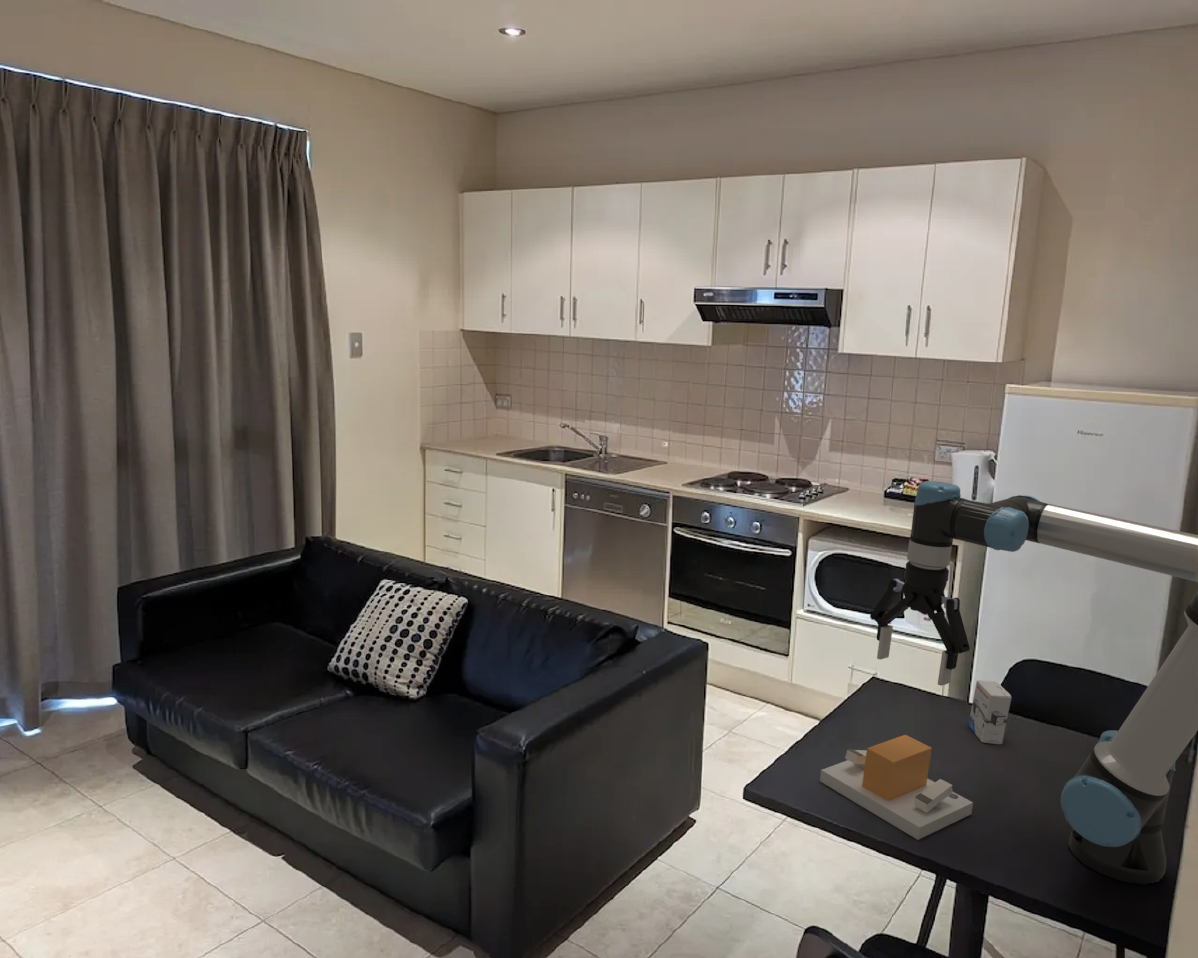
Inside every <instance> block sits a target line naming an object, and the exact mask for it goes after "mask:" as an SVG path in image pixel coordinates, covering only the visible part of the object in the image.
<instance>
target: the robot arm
mask: <svg viewBox="0 0 1198 958" xmlns="http://www.w3.org/2000/svg"><path fill="white" fill-rule="evenodd" d="M914 499H915V500H914V503H913V512H912V513H913V515H912V521H911V530H910V535H909V541H908V549H907V554H906V559H907V562H906V563H905V570H904V571H905V572H904V578H903V579H904V581H903V580H902V578H899V577H898V578H893V579H890V580H889V582H888V587H887V589H886V591H885V592H884V594H883V595H882V597H881V599H880V600H879V602H878V603H877V604H876V606H875V607H874V609H873V610H872V612H871V613H870V615H869V618H870V620H873V621H875V622H876V624H877V633H876V640H877V641H878V645H877V646H878V649H877V654H876V655H877V656H876V659H878V660H883V659H888V658H889V656H890V650H891V643H892V635H893V629H894V626H893V625H891V623H892V622H893V621H894V620H896V618H898V617H899V616H900V615H902V614H903V613H905V611H906V610H908V609H909V608H910V610H911V611H913V612H914V611H916V612H918V613H920V614H923V615H927V616H928V618H929V619H930V620H931V621H932V623H933V625H934V627H935V629H936V631H937V634H938V635H939V637H940V639H941V641H942V644H943V645H944V647H945V649H946V650H942V652H941V653H942V654H941V659H940V663H939V664H940V665H939V670H938V671H939V672H938V678H937V685H938V686H941V687H942V686H945V685H948V684H950V682H951V677H952V670H955V669H956V668H957V664H958V663H957V662H958V659H959V657H958V656H959V654H962V653H966V652H969V651H970V649H971V648H970V643H969V640H968V637H967V633H966V629H965V626H964V625H965V624H964V621H963V618H962V615H961V611H960V610H961V608H960V606H961V600H960V598H959V597H947V596H946V594H945V589H946V586H947V582H948V576H949V569H948V566H949V565H950V561H951V556H952V555H951V554H952V549H953V542H954V540H957V541H962V542H965V543H970V544H974V545H977V546H983V547H986V548H990V549H993V550H995V551H1004V552H1005V551H1006V552H1010V553H1011V552H1013V553H1014V552H1015V553H1016V552H1018V551H1019V550H1020V549H1021V548H1022V546H1023V545H1024V544H1025V542H1026V541H1028V542H1032V543H1037V544H1041V545H1045V546H1050V547H1053V548H1058V549H1062V550H1065V551H1070V552H1074V553H1077V554H1082V555H1086V556H1090V557H1094V558H1098V559H1103V560H1106V561H1111V562H1115V563H1118V564H1122V565H1127V566H1130V567H1131V566H1132V567H1135V568H1138V569H1139V568H1140V569H1143V570H1148V571H1150V572H1151V571H1152V572H1156V573H1160V574H1164V575H1168V576H1171V577H1176V578H1181V579H1184V580H1188V581H1192V582H1195V583H1197V584H1198V534H1193V533H1190V532H1185V531H1179V530H1176V529H1175V530H1174V529H1170V528H1167V527H1166V528H1165V527H1160V526H1157V525H1152V524H1146V523H1141V522H1138V521H1132V520H1127V519H1123V518H1119V517H1118V518H1117V517H1114V516H1108V515H1104V514H1099V513H1096V512H1090V511H1086V510H1080V509H1076V508H1071V507H1067V506H1062V505H1057V504H1053V503H1046V502H1043V501H1041V500H1039V499H1037V498H1036V497H1034V496H1031V495H1020V494H1018V495H1012V496H1011V497H1008V498H1006V499H1001V500H998V501H994V502H990V503H988V502H987V503H986V502H981V501H975V500H972V499H971V500H970V499H966V498H964V497H961V488H960V486H958V485H956V484H953V483H950V482H944V481H938V480H937V481H936V480H935V481H934V480H927V481H922V482H921V483H920V484H918V486H917V490H916V495H915V498H914ZM900 592H902V593H903V596H904V597H903V598H902V599H901V600H900V601H898V602H897V604H896V605H894V606H893V608H891V609H890V607H891V605H892V604H893V602H894V601H895V600H896V598H897V596H898V595H899V594H900ZM942 605H943V606H942ZM889 609H890V610H889ZM944 609H945V610H944ZM888 610H889V611H888ZM945 612H946V613H945ZM1183 614H1184V617H1185V620H1186V621H1187V628H1186V629H1185V630H1184V632H1183V633H1182V634H1181V636H1180V638H1179V639H1178V640H1177V642H1176V644H1175V645H1174V647H1173V649H1172V650H1171V651H1170V653H1169V654H1168V655H1167V657H1166V659H1164V661H1163V663H1162V664H1161V666H1160V668H1159V669H1158V671H1157V672H1156V674H1155V676H1153V678H1152V680H1151V681H1150V683H1149V684H1148V686H1147V687H1146V689H1145V690H1144V691H1143V693H1142V695H1141V697H1140V698H1139V700H1138V701H1137V702H1136V704H1135V705H1134V707H1133V708H1132V709H1131V711H1130V713H1129V714H1128V716H1127V717H1126V719H1125V720H1124V721H1123V722H1122V725H1121V726H1120V728H1118V729H1119V730H1111V729H1110V730H1106V731H1103V732H1102V733H1101V735H1100V738H1099V740H1098V741H1097V743H1096V744H1095V746H1093V748H1092V751H1091V752H1090V753H1089V755H1088V756H1087V758H1085V759H1086V760H1085V761H1084V763H1082V765H1081V766H1080V768H1079V770H1078V771H1077V773H1076V774H1075V775H1074V776H1073V777H1072V778H1070V779H1069V780H1067V782H1066V783H1065V784H1064V788H1063V790H1062V791H1061V795H1060V805H1061V806H1060V807H1061V810H1062V811H1063V812H1062V813H1063V814H1064V817H1065V819H1066V822H1067V823H1068V824H1069V826H1070V827H1071V828H1072V829H1071V831H1070V834H1069V835H1070V836H1069V840H1068V848H1069V849H1070V851H1071V853H1072V854H1073V855H1074V856H1075V857H1076V858H1077V859H1078V861H1079V862H1081V864H1084V865H1085V866H1087V867H1088V868H1090V869H1091V870H1093V871H1095V872H1097V873H1099V874H1100V875H1101V874H1102V875H1103V876H1106V877H1109V878H1111V879H1114V880H1117V881H1121V882H1124V883H1129V884H1134V883H1137V884H1136V885H1149V884H1148V883H1152V882H1155V881H1157V880H1158V879H1160V878H1161V877H1163V875H1164V874H1166V869H1167V856H1166V851H1165V844H1164V839H1163V835H1162V834H1163V833H1162V829H1163V826H1164V825H1163V824H1164V819H1165V815H1166V811H1167V807H1168V806H1167V805H1168V801H1169V796H1170V791H1171V786H1172V783H1173V776H1174V772H1176V771H1177V770H1176V761H1177V760H1178V759H1179V757H1180V756H1181V754H1183V751H1184V750H1185V749H1186V747H1187V746H1188V745H1189V743H1190V741H1191V740H1192V739H1193V738H1194V736H1195V735H1196V733H1197V731H1198V590H1197V591H1196V593H1194V595H1193V597H1192V598H1191V600H1190V602H1189V603H1188V605H1187V607H1186V608H1185V610H1184V611H1183ZM945 615H946V616H945ZM1164 876H1165V875H1164ZM1139 883H1140V884H1139Z"/></svg>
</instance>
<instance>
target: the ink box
mask: <svg viewBox="0 0 1198 958" xmlns="http://www.w3.org/2000/svg"><path fill="white" fill-rule="evenodd" d="M1011 702H1012V695H1011V694H1010V692H1008V691H1007V690H1006V689H1005V688H1004V687H1003V686H1002V685H1001V684H1000V683H999V682H997V681H992V680H991V681H990V680H989V681H988V680H979V679H978V680H976V683H975V688H974V694H973V698H972V704H971V710H970V715H969V721H968V727H969V729H970V730H971V731H972V732H973V733H974V734H975V736H976V737H977V738H978V739H979V740H980V742H981V743H984V744H993V745H1003V741H1004V737H1005V732H1006V728H1007V727H1006V726H1007V721H1008V717H1009V711H1010V706H1011Z"/></svg>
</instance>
